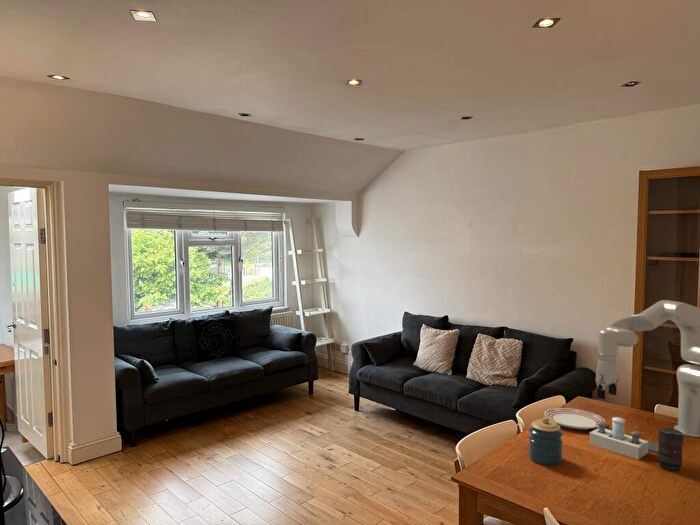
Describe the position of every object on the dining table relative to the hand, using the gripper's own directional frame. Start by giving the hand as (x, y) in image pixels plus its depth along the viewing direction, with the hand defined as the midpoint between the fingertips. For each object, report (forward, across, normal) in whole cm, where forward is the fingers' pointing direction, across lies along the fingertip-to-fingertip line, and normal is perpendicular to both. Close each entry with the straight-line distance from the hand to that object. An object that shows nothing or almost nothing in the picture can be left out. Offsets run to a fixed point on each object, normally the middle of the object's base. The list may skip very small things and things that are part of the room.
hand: (606, 396), depth 213 cm
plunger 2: (+18, -1, +12) cm, 22 cm away
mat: (+22, -13, +12) cm, 28 cm away
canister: (+22, +34, -8) cm, 41 cm away
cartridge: (+22, -1, +5) cm, 22 cm away
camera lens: (+22, +1, +26) cm, 34 cm away
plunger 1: (+18, -1, -2) cm, 19 cm away
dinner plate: (+22, -14, -23) cm, 34 cm away
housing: (+22, -1, +5) cm, 22 cm away
